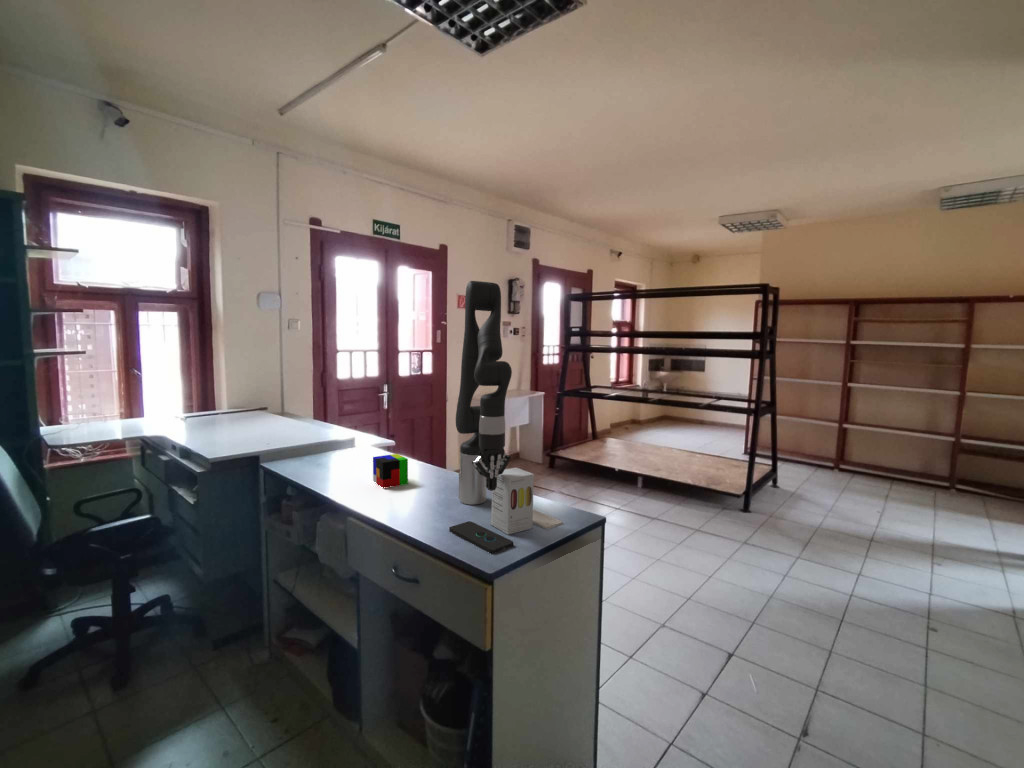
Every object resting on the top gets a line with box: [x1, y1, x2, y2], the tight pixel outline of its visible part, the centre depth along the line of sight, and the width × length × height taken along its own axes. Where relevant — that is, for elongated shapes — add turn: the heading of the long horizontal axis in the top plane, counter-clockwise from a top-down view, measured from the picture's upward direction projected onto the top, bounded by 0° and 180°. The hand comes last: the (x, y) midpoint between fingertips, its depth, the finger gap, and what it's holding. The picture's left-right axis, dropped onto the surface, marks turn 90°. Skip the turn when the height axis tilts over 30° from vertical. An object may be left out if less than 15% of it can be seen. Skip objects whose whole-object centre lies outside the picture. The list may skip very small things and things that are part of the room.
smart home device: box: [448, 520, 514, 555], centre depth 134 cm, size 8×2×20 cm
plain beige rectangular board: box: [532, 508, 564, 530], centre depth 149 cm, size 16×7×1 cm, turn 40°
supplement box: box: [490, 467, 535, 535], centre depth 141 cm, size 10×9×17 cm
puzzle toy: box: [372, 453, 409, 489], centre depth 183 cm, size 10×10×10 cm
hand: (491, 489), depth 136 cm, fingers closed
